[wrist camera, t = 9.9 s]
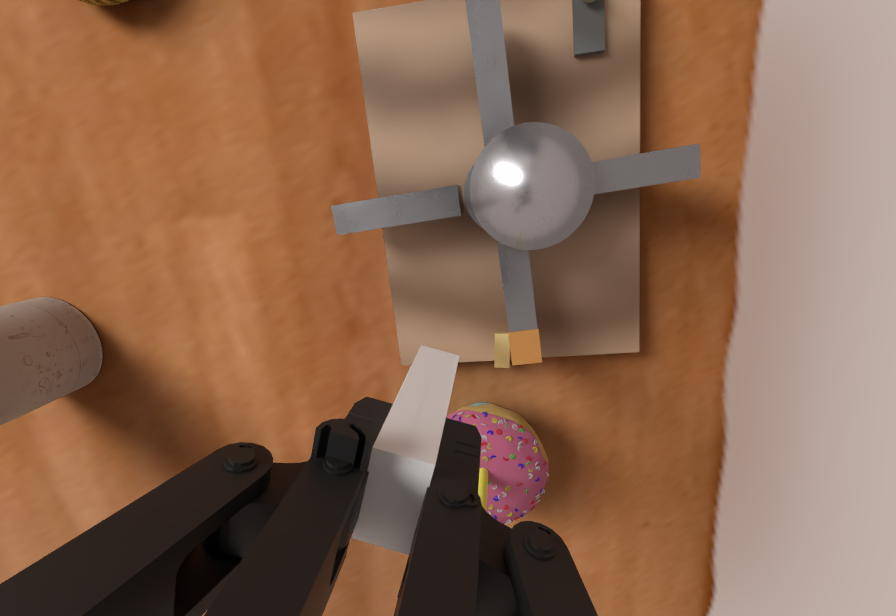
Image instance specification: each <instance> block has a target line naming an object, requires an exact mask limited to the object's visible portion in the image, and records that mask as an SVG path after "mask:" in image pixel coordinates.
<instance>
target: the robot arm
mask: <svg viewBox="0 0 896 616" xmlns="http://www.w3.org/2000/svg"><path fill="white" fill-rule="evenodd" d="M458 361H459V355H456V354H452V353H448V352H445V351H441V350H437V349H434V348H430V347H426V346H423V345H421V346H420V348H419V350H418V352H417V355H416V357H415V359H414V361H413V363H412V365H411V367H410V369H409V371H408V374H407V376H406V378H405V380H404V382H403V384H402V386H401V388H400V390H399V393H398V395H397V397H396V399H395V401H394V403H393V404H391V403H387V402H384V401H380V400H377V399H373V398H369V397H365V398H363V399H362V400H360V401H358V402H356V403H355V404H354V406H353V407H352V409H351V410H350V412H349V414H348V415H347V416H346V418H345V419H331V420H328V421H325V422H322V423H321V424H320V425H319V426H318V427H316V431H315V437H314V443H313V449H312V454H311V458H310V459H309V461H306V462H301V463H273V457H272V455H271V452H270V451H269V450H267V449H266V448H265V447H263V446H261V445H258V444H254V443H243V442H240V443H235V444H229V445H227V446H224V447H222V448H220V449H218V450H216V451H215V452H213V453H211V454H210V455H208V456H207V457H205V458H203V459H202V460H200V461H198V462H197V463H195V464H194V465H192V466H190V467H189V468H187V469H186V470H184V471H182V472H181V473H179V474H177V475H176V476H174V477H173V478H171V479H169V480H168V481H166V482H165V483H163V484H161V485H160V486H158V487H156V488H155V489H153V490H152V491H150V492H148V493H147V494H145V495H144V496H142V497H140V498H139V499H137V500H135V501H134V502H132V503H131V504H129V505H127V506H126V507H124V508H123V509H121V510H119V511H118V512H116V513H114V514H113V515H111V516H110V517H108V518H106V519H105V520H103V521H102V522H100V523H98V524H97V525H95V526H93V527H92V528H90V529H89V530H87V531H85V532H84V533H82V534H81V535H79V536H77V537H76V538H74V539H72V540H71V541H69V542H68V543H66V544H64V545H63V546H61V547H60V548H58V549H56V550H55V551H53V552H51V553H50V554H48V555H47V556H45V557H43V558H42V559H40V560H39V561H37V562H35V563H34V564H32V565H30V566H29V567H27V568H26V569H24V570H22V571H21V572H19V573H18V574H16V575H14V576H13V577H11V578H9V579H8V580H6V581H5V582H3V583H1V584H0V616H202V615H203V614H204V613H205V612H206V611H207V612H206V613H205V615H204V616H322V614H323V612H324V609H325V607H326V604H327V602H328V599H329V597H330V594H331V592H332V590H333V587H334V585H335V582H336V580H337V577H338V575H339V572H340V570H341V567H342V565H343V562H344V560H345V557H346V553H347V549H348V544H349V540H350V538H351V535H352V533H353V537H352V538H353V539H356V540H360V541H363V542H367V543H370V544H373V545H377V546H380V547H384V548H387V549H391V550H394V551H397V552H401V553H404V554H408V555H409V557H408V561H407V565H406V568H405V572H404V575H403V579H402V583H401V586H400V590H399V593H398V600H397V604H396V608H395V613H394V616H598V615H597V613H596V611H595V608H594V606H593V604H592V602H591V599H590V597H589V595H588V593H587V590H586V588H585V586H584V584H583V581H582V579H581V577H580V575H579V572H578V570H577V568H576V566H575V563H574V561H573V559H572V557H571V554H570V552H569V550H568V548H567V546H566V545H565V543H564V542H563V540H562V538H561V537H560V536H559V535H557V534H556V533H555V532H554V531H553V530H552V529H550V528H548V527H546V526H545V525H543V524H540V523H537V522H533V521H523V522H519V523H518V524H516V525H514V526H513V528H512V529H511V528H509V527H508V526H506V525H504V524H502V523H501V522H499V521H497V520H496V519H495V518H493V517H492V516H491V515H490V514H489V513H488V512H487V511H486V510H485V509H484V508H483V506H482V503H481V498H480V496H479V495H478V486H479V470H480V455H481V440H482V437H481V435H480V433H479V431H478V429H477V427H476V426H474V425H471V424H467V423H463V422H460V421H456V420H453V419H449V418H446V415H447V410H448V406H449V401H450V397H451V392H452V388H453V383H454V379H455V374H456V370H457V365H458ZM353 531H354V532H353Z"/></svg>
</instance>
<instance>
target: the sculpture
mask: <svg viewBox="0 0 896 616" xmlns="http://www.w3.org/2000/svg"><path fill="white" fill-rule="evenodd" d="M81 1H83V2H86V3H88V4H94V5H102V6H107V5H117V4H120V3H123V2H125V1H129V0H81Z"/></svg>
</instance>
